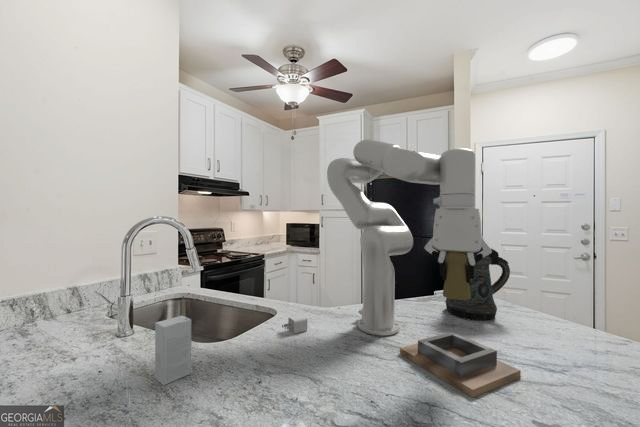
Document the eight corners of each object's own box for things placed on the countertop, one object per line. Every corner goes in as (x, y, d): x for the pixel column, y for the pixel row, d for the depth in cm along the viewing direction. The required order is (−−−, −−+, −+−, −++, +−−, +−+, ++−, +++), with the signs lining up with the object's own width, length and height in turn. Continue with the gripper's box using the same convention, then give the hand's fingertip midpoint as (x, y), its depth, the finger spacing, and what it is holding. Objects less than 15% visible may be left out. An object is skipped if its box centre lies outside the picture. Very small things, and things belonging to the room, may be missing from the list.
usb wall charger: (307, 331, 89) (307, 318, 89) (286, 336, 85) (286, 322, 85) (300, 327, 92) (301, 314, 92) (280, 331, 88) (280, 318, 88)
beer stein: (436, 307, 113) (436, 241, 113) (481, 304, 117) (481, 241, 117) (465, 322, 97) (465, 246, 97) (516, 319, 100) (516, 245, 100)
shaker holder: (399, 353, 75) (400, 336, 75) (443, 341, 82) (444, 325, 82) (472, 397, 57) (473, 374, 57) (520, 377, 64) (520, 356, 65)
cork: (474, 300, 66) (474, 251, 66) (445, 299, 67) (445, 250, 67) (466, 293, 72) (466, 248, 72) (440, 292, 73) (440, 247, 73)
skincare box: (182, 367, 67) (182, 314, 67) (191, 374, 65) (192, 319, 65) (153, 378, 63) (154, 322, 63) (162, 386, 60) (163, 327, 60)
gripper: (416, 202, 70) (416, 279, 70) (500, 201, 63) (499, 288, 62) (421, 203, 77) (421, 274, 77) (497, 203, 69) (497, 281, 69)
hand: (456, 279), depth 70 cm, fingers closed on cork, 4 cm apart
